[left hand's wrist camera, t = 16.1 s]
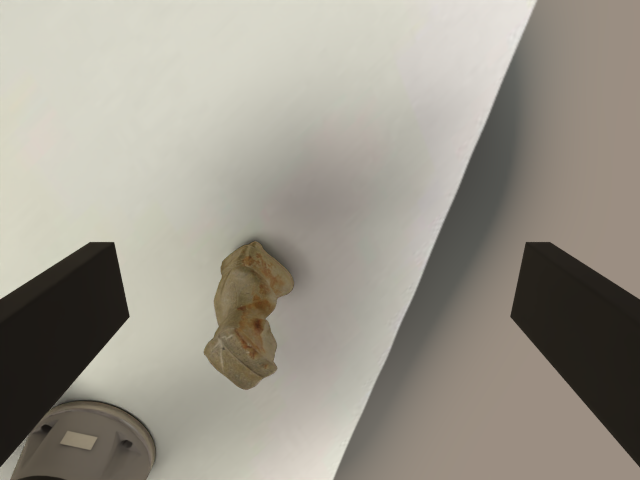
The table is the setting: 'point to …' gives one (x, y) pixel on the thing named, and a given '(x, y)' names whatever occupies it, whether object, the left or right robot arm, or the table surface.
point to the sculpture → (247, 315)
